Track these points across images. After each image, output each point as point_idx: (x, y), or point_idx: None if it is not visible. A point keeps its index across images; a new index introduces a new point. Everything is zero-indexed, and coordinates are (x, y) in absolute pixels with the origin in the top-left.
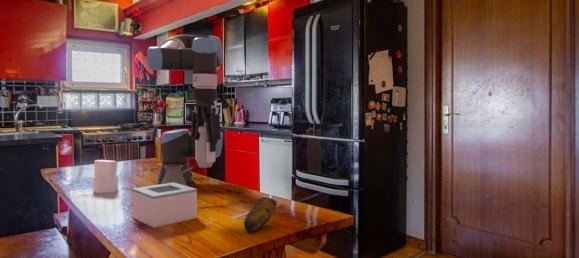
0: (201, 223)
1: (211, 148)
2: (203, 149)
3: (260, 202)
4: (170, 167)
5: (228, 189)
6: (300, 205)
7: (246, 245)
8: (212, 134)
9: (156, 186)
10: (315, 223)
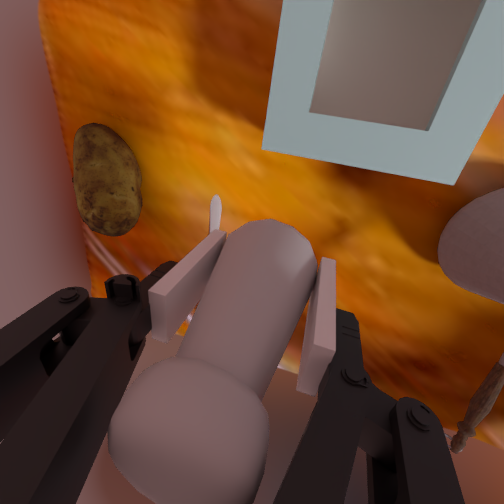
0: (234, 111)
1: (159, 272)
2: (222, 265)
3: (83, 190)
4: None
5: (409, 388)
6: (185, 329)
7: (56, 65)
8: (41, 318)
9: (480, 53)
10: (95, 251)
